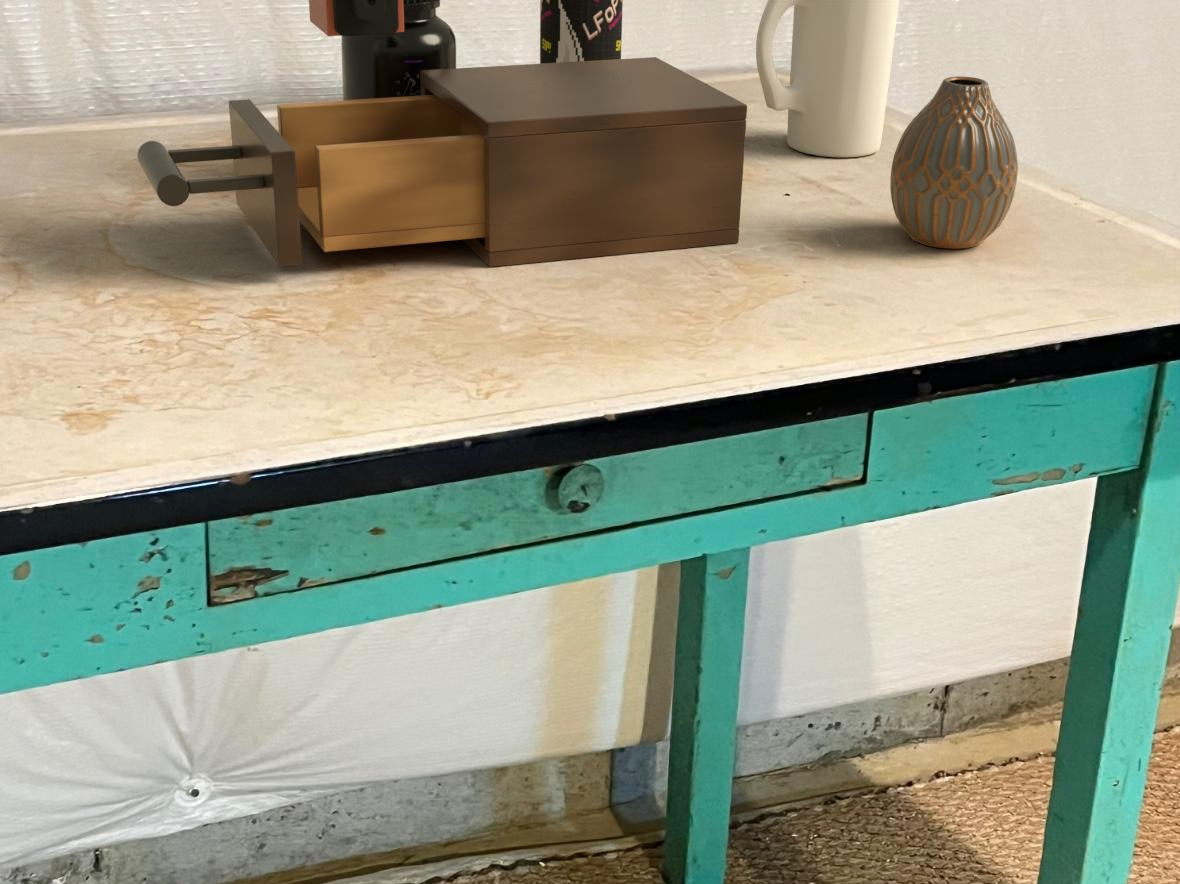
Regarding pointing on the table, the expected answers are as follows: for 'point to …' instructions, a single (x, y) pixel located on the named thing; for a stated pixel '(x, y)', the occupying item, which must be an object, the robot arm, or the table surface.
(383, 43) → the supplement bottle
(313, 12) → the block
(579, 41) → the beverage can
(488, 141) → the cabinet
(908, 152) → the vase
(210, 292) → the table surface
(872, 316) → the table surface
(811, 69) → the mug
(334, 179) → the drawer
